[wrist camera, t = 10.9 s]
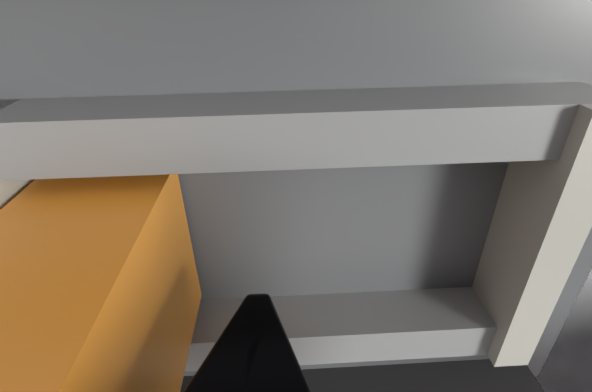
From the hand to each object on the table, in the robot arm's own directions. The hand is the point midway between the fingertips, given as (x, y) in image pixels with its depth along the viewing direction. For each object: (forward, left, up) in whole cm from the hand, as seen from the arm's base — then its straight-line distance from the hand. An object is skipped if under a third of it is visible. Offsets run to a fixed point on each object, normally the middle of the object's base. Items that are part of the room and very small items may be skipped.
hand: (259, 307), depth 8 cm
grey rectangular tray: (-1, 0, -4) cm, 4 cm away
